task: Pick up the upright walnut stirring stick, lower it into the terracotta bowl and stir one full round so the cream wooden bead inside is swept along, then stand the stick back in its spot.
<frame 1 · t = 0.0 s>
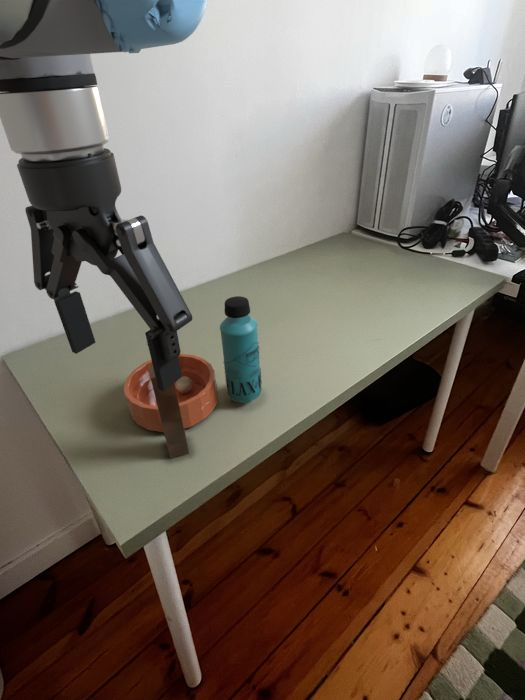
hand: (124, 364, 47), 25 cm above the table, tool pointing down, fingers open, 13 cm apart
bowl: (175, 405, 79), on the table
bead: (184, 385, 79), point 3 cm above the table, touching bowl
beverage bottle: (245, 398, 80), on the table
stick: (178, 450, 70), on the table
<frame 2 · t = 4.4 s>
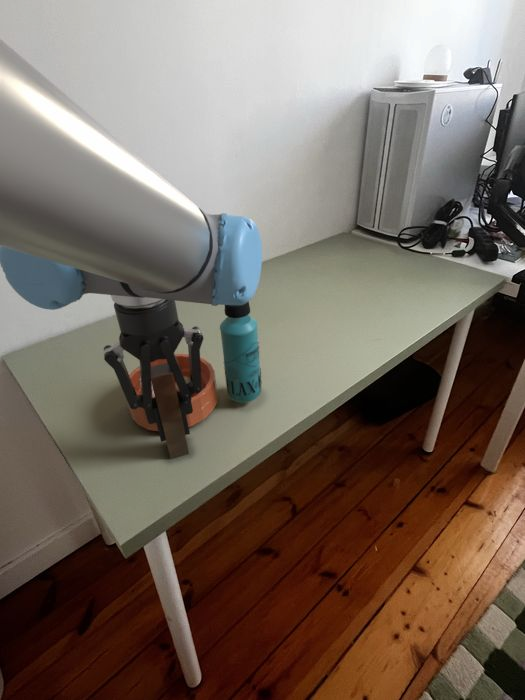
hand: (174, 431, 67), 4 cm above the table, tool pointing down, fingers closed on stick, 3 cm apart
stick: (178, 450, 70), on the table, touching gripper
everything else where it was.
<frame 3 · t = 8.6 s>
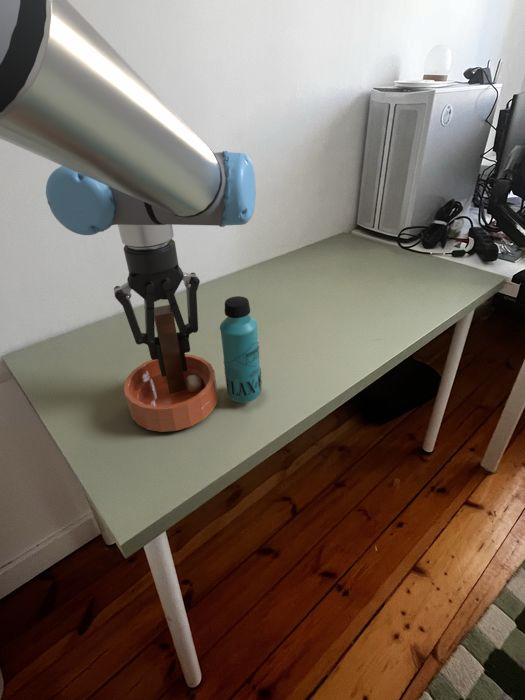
hand: (173, 369, 77), 7 cm above the table, tool pointing down, fingers closed on stick, 3 cm apart
bead: (193, 383, 80), point 3 cm above the table, tilted 56°, touching bowl, stick
stick: (176, 387, 79), point 2 cm above the table, touching bead, gripper
everything else where it was.
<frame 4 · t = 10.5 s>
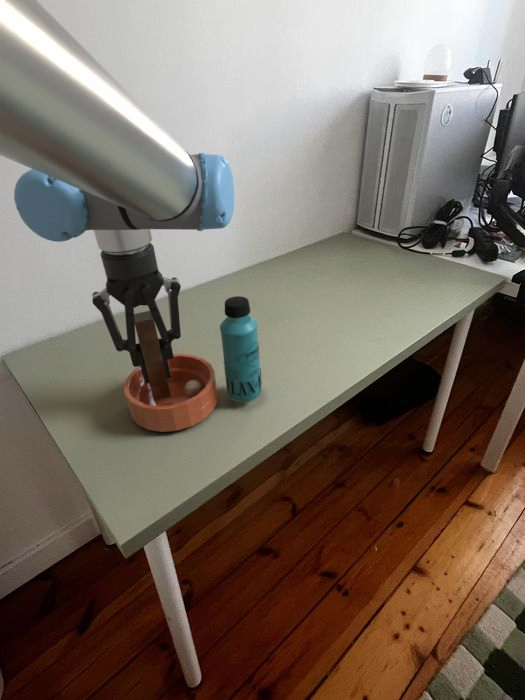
hand: (157, 376, 75), 7 cm above the table, tool pointing down, fingers closed on stick, 3 cm apart
bead: (193, 388, 78), point 3 cm above the table, tilted 43°, touching bowl
stick: (161, 393, 77), point 3 cm above the table, touching gripper
everything else where it was.
when the fingers open (4 cm above the table, at t = 16.6 s): stick stays where it is, on the table.
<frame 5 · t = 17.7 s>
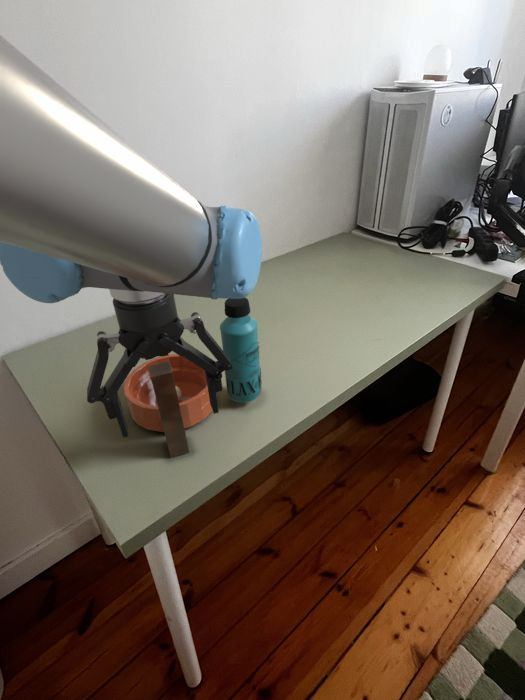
hand: (170, 419, 66), 7 cm above the table, tool pointing down, fingers open, 13 cm apart
bead: (172, 394, 77), point 3 cm above the table, tilted 112°, touching bowl
stick: (178, 449, 70), on the table
everything else where it was.
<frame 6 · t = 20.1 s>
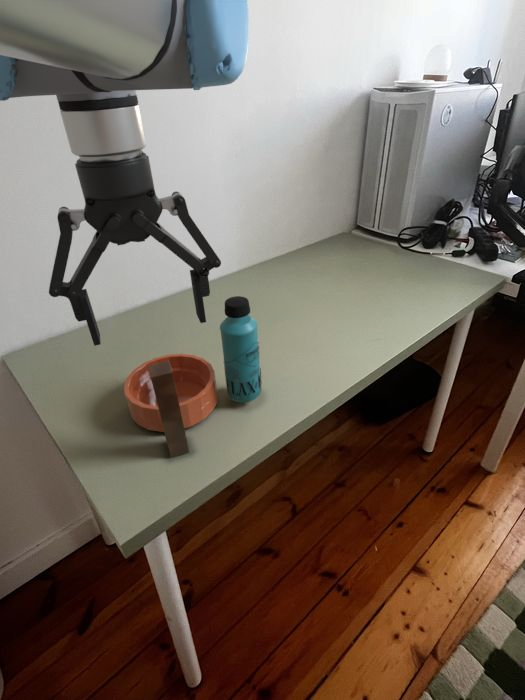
hand: (150, 329, 57), 23 cm above the table, tool pointing down, fingers open, 13 cm apart
bead: (165, 396, 77), point 3 cm above the table, tilted 138°, touching bowl
everything else where it was.
at the end: bead moved 4.3 cm from its start; bead inside the target area in the bowl (1.5 cm from its centre), point 2.6 cm above the bowl's base; stick inside the target area (0.2 cm from its centre), on the table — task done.
